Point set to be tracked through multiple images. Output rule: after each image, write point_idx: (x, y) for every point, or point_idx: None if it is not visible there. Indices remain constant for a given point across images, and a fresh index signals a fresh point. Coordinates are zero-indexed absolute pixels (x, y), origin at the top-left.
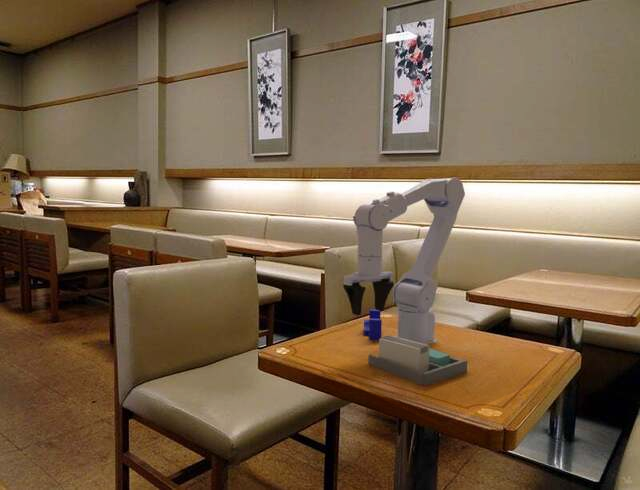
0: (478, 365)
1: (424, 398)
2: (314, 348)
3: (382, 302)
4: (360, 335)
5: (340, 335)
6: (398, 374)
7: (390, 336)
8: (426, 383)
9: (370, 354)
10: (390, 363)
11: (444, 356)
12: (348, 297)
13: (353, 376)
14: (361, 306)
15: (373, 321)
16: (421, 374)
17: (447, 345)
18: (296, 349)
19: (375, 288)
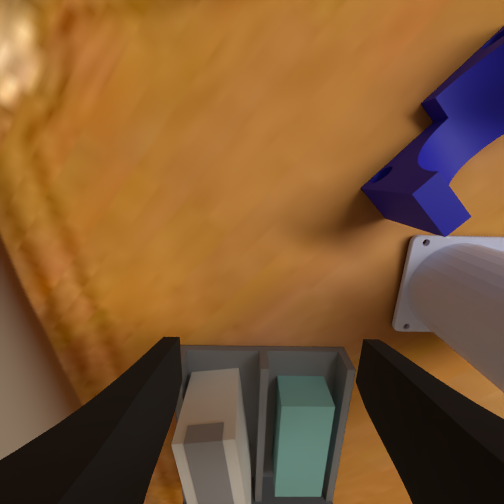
0: (392, 463)
1: (157, 493)
2: (138, 121)
3: (385, 435)
4: (407, 98)
5: (344, 37)
6: None
7: (219, 451)
8: None
9: None
10: None
11: (299, 496)
12: (65, 420)
13: (105, 368)
14: (162, 442)
15: (417, 206)
16: (183, 499)
17: None
18: (68, 85)
19: (501, 492)
